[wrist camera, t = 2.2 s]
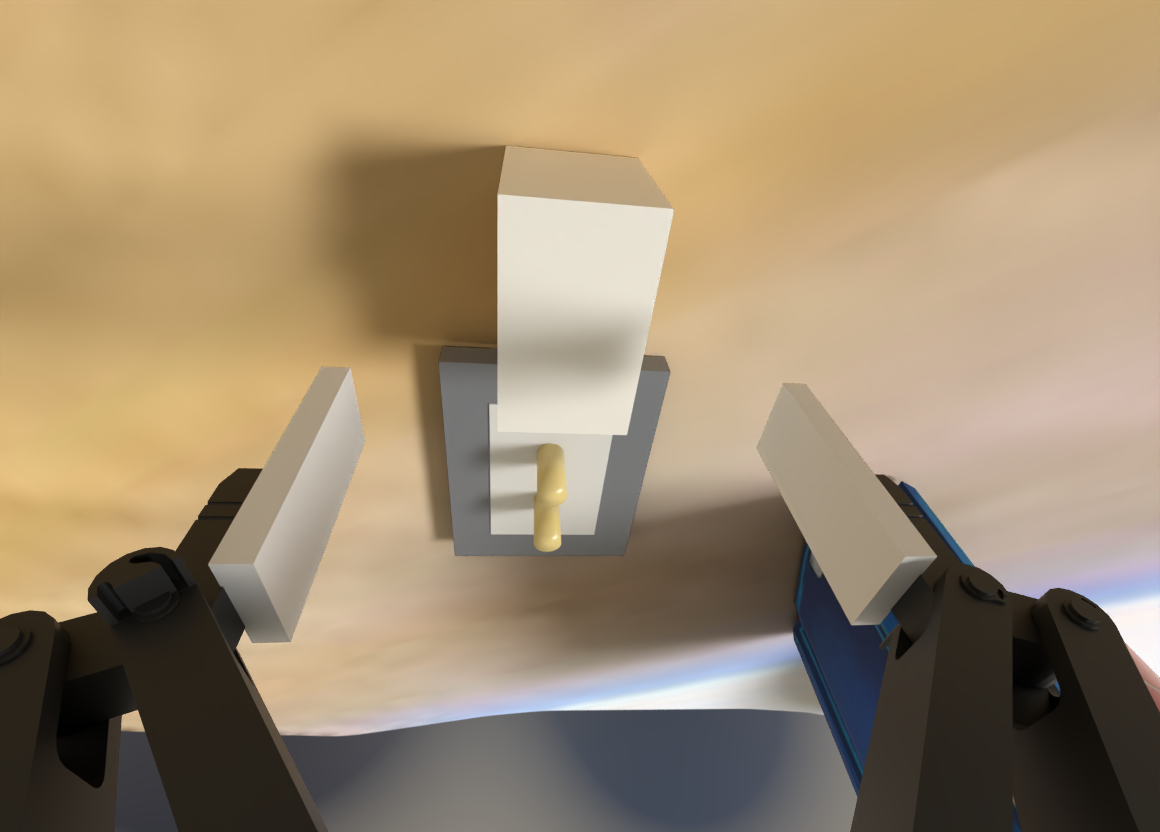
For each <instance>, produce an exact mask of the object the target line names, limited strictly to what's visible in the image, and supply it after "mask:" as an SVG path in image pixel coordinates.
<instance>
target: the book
mask: <svg viewBox="0 0 1160 832" xmlns="http://www.w3.org/2000/svg"><path fill="white" fill-rule="evenodd" d="M898 486H899V487H900V488H901V489H902V490H903V491H904V492H905V494H906V495H907V496H908V497H909V499H910V500H911V501H912V502H913V506H916V507H917V509H918V510H919V511H920V512H921V514H922V515H923V519H926V520H927V521H928V523H929V524H930V525H931V526H932V528H933V529H934V530H935V531H936V533H937V534H938V535H939V536H940V538H941V539H942V540H943V541H944V543H945V544H946V545H947V546H948V548H949V549H950V550H951V551H952V553H953V554H954V555H955V556H956V558H957V559H958V560H959V561H960V563H961V564H968V565H971V566H974V565H973V564H972V562H971V561H970V560H969V558H968V557H967V556H966V554H965V553H964V552H963V550H962V549H961V548H960V547H959V545H958V544H957V543H956V541H955V540H954V539H953V537H952V536H951V535H950V534H949V532H948V531H947V530H946V528H945V527H944V526H943V524H942V523H941V522H940V520H939V519H938V518H937V517H936V515H935V514H934V513H933V511H932V510H931V509H930V507H929V506H928V505H927V503H926V502H925V501H924V500H923V498H922V497H921V496H920V494H919V493H918V492H917V490H916V489H915V488H913V487H912V486H910V485H908V484H906V483H904V482H902V481H901V483H900V484H899V485H898ZM974 567H975V566H974ZM794 602H795V605H796V609H797V612H798V616H799V621H798V622H797V623H796V625H795V626H794V627H793V635H794V641H795V644H796V646H797V648H798V651H799V653H800V656H801V658H802V661H803V663H804V666H805V668H806V671H807V673H808V676H809V678H810V681H811V683H812V686H813V688H814V691H815V693H816V695H817V698H818V700H819V703H820V705H821V708H822V710H823V713H824V715H825V718H826V720H827V723H828V725H829V728H830V730H831V733H832V735H833V738H834V740H835V742H836V745H837V747H838V750H839V752H840V755H841V757H842V759H843V762H844V765H845V767H846V770H847V772H848V774H849V777H850V780H851V782H852V785H853V787H854V789H855V792H856V795H857V797H858V793H859V789H860V784H861V779H862V775H863V770H864V765H865V760H866V756H867V751H868V746H869V742H870V737H871V732H872V727H873V723H874V718H875V713H876V709H877V704H878V699H879V695H880V690H881V685H882V680H883V676H884V671H885V666H886V662H887V657H888V652H889V647H890V645H888V646H887V647H886V648H885V649H884V650H881V649H879V646H880V645H881V643H882V642H883V641H884V639H885V638H886V637H887V636H888V635H889V634H890V633H891V632H892V630H893V629H894V628H895V627H896V626H897V625H898V624H899V622H898V620H897V619H896V617H895V615H894V614H893V612H892V611H891V612H890V613H889V614H888V615H887V616H886V617H885V619H884V620H883V621H882V622H881V623H880V624H879V625H851V624H850V622H849V620H848V618H847V616H846V614H845V613H844V611H843V609H842V607H841V605H840V603H839V601H838V599H837V598H836V596H835V594H834V592H833V590H832V588H831V586H830V585H829V583H828V581H827V579H826V577H825V575H824V573H823V571H822V570H821V568H820V566H819V564H818V562H817V560H816V558H815V557H814V555H813V553H812V551H811V549H810V547H809V545H808V544H807V542H806V543H805V547H804V551H803V555H802V560H801V566H800V571H799V577H798V583H797V589H796V594H795V600H794ZM1055 686H1056V689H1057V691H1058V693H1059V695H1060V688H1059V684H1058V682H1056V683H1055ZM1013 832H1022V829H1021V825H1020V821H1019V817H1018V813H1017V809H1016V805H1015V802H1014V798H1013Z"/></svg>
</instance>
